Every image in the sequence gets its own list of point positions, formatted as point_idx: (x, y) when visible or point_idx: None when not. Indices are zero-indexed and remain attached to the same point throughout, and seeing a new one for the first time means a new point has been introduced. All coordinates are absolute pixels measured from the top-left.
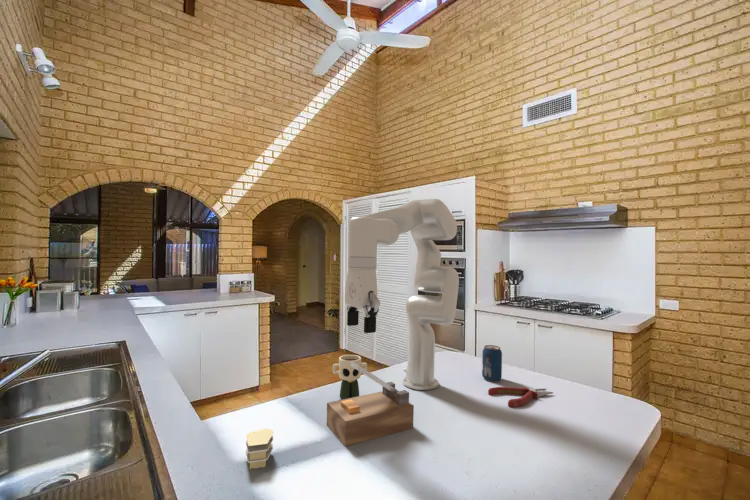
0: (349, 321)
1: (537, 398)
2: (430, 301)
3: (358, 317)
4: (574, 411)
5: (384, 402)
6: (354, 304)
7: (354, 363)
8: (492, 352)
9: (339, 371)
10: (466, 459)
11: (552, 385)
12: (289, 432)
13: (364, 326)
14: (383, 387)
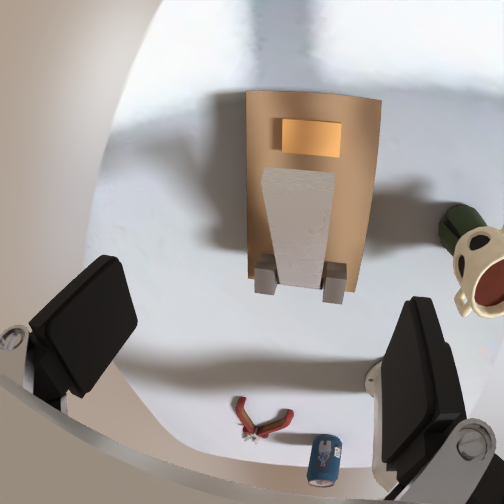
0: (409, 329)
1: (244, 426)
2: None
3: (386, 415)
4: (202, 418)
5: None
6: (29, 442)
7: (300, 183)
8: (313, 475)
9: (500, 234)
10: (145, 251)
11: (265, 453)
12: (379, 15)
13: (80, 277)
14: (342, 273)
